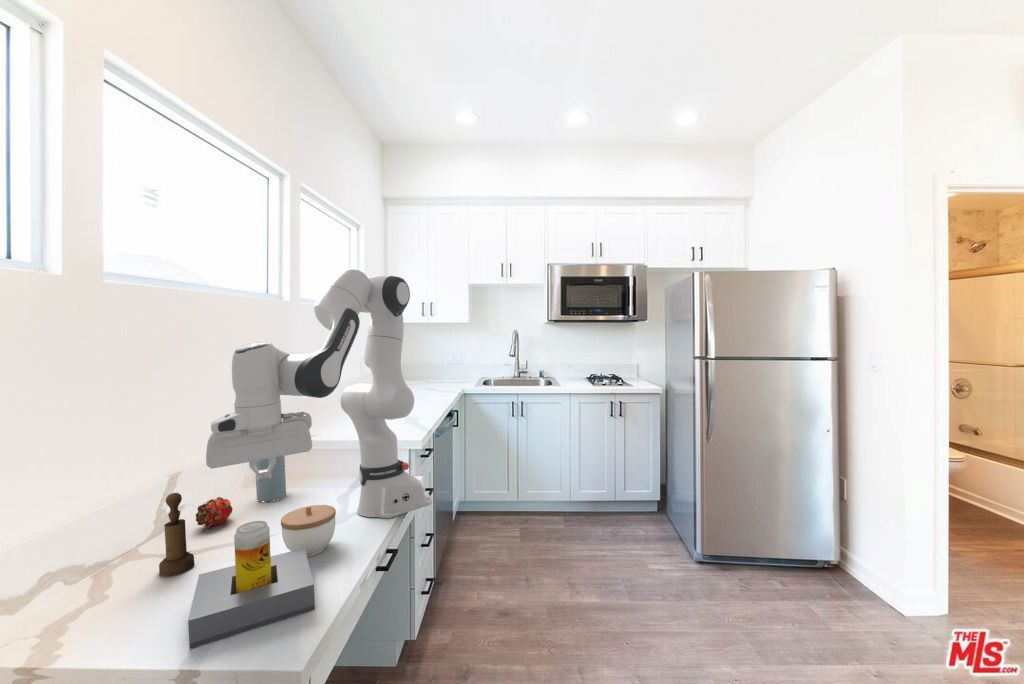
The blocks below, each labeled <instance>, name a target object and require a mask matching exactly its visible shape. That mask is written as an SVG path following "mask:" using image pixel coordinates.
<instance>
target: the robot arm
mask: <svg viewBox="0 0 1024 684" xmlns="http://www.w3.org/2000/svg"><path fill="white" fill-rule="evenodd" d="M410 297H411V291H410V286H409V285H408V283H407V282H406V280H405V279H404V278H403V277H400V276H396V275H389V276H385V275H383V276H382V275H373V276H368V275H366V274H365V273H364V272H363V271H361V270H360V269H356V268H348V269H347V268H346V269H344V270H342V271H341V272H340V273H338V274H337V275H336V276H335V277H334V278H333V279H332V280H331V281H330V282H329V283H328V284H327V285H326V286H325V287H324V289H323V290H322V291H321V292H320V294H319V295H318V296H317V299H316V301H315V303H314V305H313V309H314V310H313V311H314V314H315V317H316V319H317V320H318V322H319V323H320V324H321V325H322V326H323V327H324V328H326V329H327V330H329V334H328V336H327V338H326V339H325V341H324V344H323V345H322V347H321V349H319V350H317V351H316V352H312V353H310V354H291V353H288V352H285V351H283V350H281V349H278V348H277V347H275V346H274V345H273V343H272V342H268V341H259V342H255V343H248V344H244V345H241V346H239V347H238V348H237V349H236V350H234V351H233V353H232V354H233V355H232V359H231V360H232V361H231V381H232V382H231V383H232V388H233V391H234V394H235V400H234V404H233V405H234V411H232V412H230V413H228V414H225V415H222V416H220V417H217V418H215V419H214V420H213V421H212V422H211V423H210V429H211V432H212V433H211V434H210V435H209V438H208V440H207V443H206V444H207V445H206V451H205V452H206V453H205V464H206V466H207V468H208V467H209V469H212V470H213V469H217V468H223V467H229V466H234V465H240V464H245V463H248V465H249V466H248V467H249V468H250V469H251V470H252V471H253V472H254V474H255V481H256V480H257V481H259V480H264V479H269V478H271V470H272V469H273V467H274V465H275V463H276V457H280V456H291V455H297V454H302V453H306V452H307V453H308V452H310V450H311V449H313V440H312V435H311V432H310V431H311V430H310V429H311V428H312V424H313V423H312V416H311V415H310V414H309V413H307V412H304V411H299V410H298V411H296V412H286V413H282V401H281V396H290V397H291V396H293V397H294V396H295V397H309V398H316V399H317V398H318V399H321V398H326V397H328V396H329V395H331V394H332V393H333V392H334V391H335V390H336V388H337V387H338V385H339V383H340V380H341V377H342V371H343V368H344V366H345V365H344V364H345V362H346V360H347V358H348V355H349V354H350V351H351V348H352V346H353V345H354V343H355V339H356V337H357V334H358V331H359V329H360V324H361V323H360V317H359V315H360V314H361V313H367V314H368V313H369V315H370V316H371V319H370V322H369V325H368V330H367V336H366V341H365V348H364V357H363V361H364V364H365V365H366V367H368V369H370V371H371V374H372V381H373V382H359V383H355V384H351V385H348V386H347V387H345V388H344V390H343V391H342V393H341V396H340V407H341V409H342V410H343V411H344V413H345V414H346V415H347V416H348V417H349V418H350V420H351V421H352V424H353V426H354V429H355V431H356V434H357V437H358V444H359V452H360V453H359V454H360V465H359V472H358V473H359V476H358V477H359V482H360V494H359V502H358V508H357V511H356V512H357V514H358V515H360V516H362V517H367V518H381V519H391V518H395V517H398V516H400V515H403V514H406V513H410V512H413V511H416V510H418V509H421V508H425V507H428V506H429V507H430V506H431V505H432V503H433V499H432V498H433V497H431V495H430V494H429V493H428V492H426V491H425V489H424V486H423V484H422V482H421V481H420V480H419V479H418V478H417V477H415V475H411V473H409V472H407V470H408V469H410V465H409V463H407V462H406V461H405V462H404V461H403V460H400V459H399V454H398V437H397V435H396V434H395V432H394V431H393V430H391V428H390V427H389V425H388V424H387V422H386V420H389V421H391V420H399V419H403V418H406V417H408V416H409V415H410V414H411V412H412V411H413V408H414V405H415V396H414V392H413V391H412V389H411V388H410V387H409V385H407V384H406V382H405V379H404V376H403V373H402V363H401V362H402V352H403V351H402V350H403V342H404V329H405V328H404V315H403V313H404V311H405V310H406V308H407V307H408V304H409V302H410ZM263 459H268V460H269V463H270V465H269V467H268V469H266V470H260V471H259V470H258V469H257V467H256V465H257V461H258V460H263Z"/></svg>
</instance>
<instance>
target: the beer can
mask: <svg viewBox="0 0 1024 684" xmlns="http://www.w3.org/2000/svg"><path fill="white" fill-rule="evenodd" d="M267 522H268V521H265V520H256V521H255V520H254V521H250V522H249V521H248V522H246V523H243V524H241V525H239V526H238V527H237V528H235V529H236V531H235V533H234V535H233V540H234V542H233V543H234V563H235V564H234V566H235V568H236V593H241V592H244V591H248V590H252V589H255V588H259V587H262V586H266V585H270V584H272V581H271V556H272V555H271V540H270V539H271V537H270V536H271V535H270V527H269V525H268V523H267Z"/></svg>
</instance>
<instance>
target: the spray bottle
mask: <svg viewBox="0 0 1024 684" xmlns="http://www.w3.org/2000/svg"><path fill="white" fill-rule="evenodd" d="M285 459H286V458H285V456H280V457H276V463H275V465H274V467H273V469H272V470H271V478H269V479H264V480H259V481H257V480H256V479H255V489H256V501H257V500H258V501H261V502H260V503H266V502H265V501H271V502H274V501H273V500H276V501H278V500H277V499H279V500H281V499H280V498H282V499H283V497H284V498H285V497H286V496H287V482H286V461H285ZM269 465H270V463H269V460H268V459H263V460H258V461H257V465H256V467H257V469H258V470H259V471H260V470H266V469H268V467H269ZM258 501H257V502H258ZM262 501H264V502H262Z"/></svg>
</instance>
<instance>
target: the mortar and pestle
mask: <svg viewBox="0 0 1024 684" xmlns="http://www.w3.org/2000/svg"><path fill="white" fill-rule="evenodd" d="M182 500H183V497H182V495H181V494H180V493H179V492H174V493H169V494H168V495H167V496H166V499H165V504H166V505H167V507H169V509H170V510H169V513H167V516H168V519H169V522H166V523H165V524H164V540H165V541H164V542H165V557H164V558H163V559H162V561H160V562H159V565H158V571H159V576H160V577H173V576H177V575H181V574H183V573H186V572H189V570H191V569H192V568H194V567H195V555H194V553H191V552H189V551H188V550H187V535H186V534H187V533H186V532H187V531H186V520H185V519H183V518H180V516H181V511H180V510H179V505H180V503H181V502H182Z"/></svg>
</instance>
